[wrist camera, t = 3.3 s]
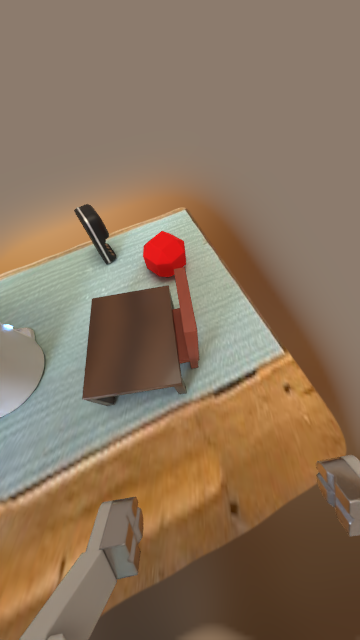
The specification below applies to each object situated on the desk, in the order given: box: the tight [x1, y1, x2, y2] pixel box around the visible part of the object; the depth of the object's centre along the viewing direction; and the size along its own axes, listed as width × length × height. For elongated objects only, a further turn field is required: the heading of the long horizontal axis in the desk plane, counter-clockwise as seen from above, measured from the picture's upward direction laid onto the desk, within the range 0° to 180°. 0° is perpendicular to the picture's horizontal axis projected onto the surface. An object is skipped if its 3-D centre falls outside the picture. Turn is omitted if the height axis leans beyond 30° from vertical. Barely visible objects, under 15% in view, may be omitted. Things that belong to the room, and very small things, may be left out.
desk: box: [82, 286, 186, 406], centre depth 33 cm, size 13×16×8 cm
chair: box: [172, 267, 199, 369], centre depth 30 cm, size 10×9×15 cm
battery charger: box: [74, 204, 116, 264], centre depth 45 cm, size 7×4×11 cm, turn 33°
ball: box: [143, 231, 186, 277], centre depth 42 cm, size 8×8×8 cm
